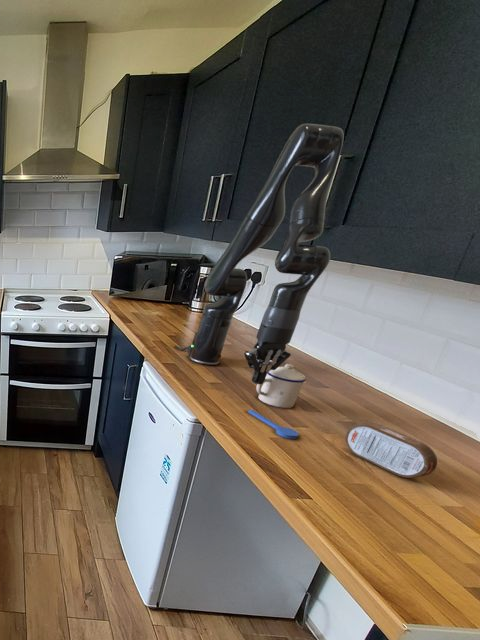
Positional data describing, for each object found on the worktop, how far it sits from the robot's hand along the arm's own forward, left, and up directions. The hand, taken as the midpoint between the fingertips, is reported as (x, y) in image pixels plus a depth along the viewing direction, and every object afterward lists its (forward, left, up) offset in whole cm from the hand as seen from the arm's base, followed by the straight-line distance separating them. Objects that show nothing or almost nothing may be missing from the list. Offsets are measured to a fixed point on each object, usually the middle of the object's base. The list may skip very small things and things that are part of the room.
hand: (256, 383), depth 114 cm
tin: (+31, +5, -6) cm, 32 cm away
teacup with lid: (0, +7, -6) cm, 9 cm away
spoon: (+13, -5, -6) cm, 15 cm away
